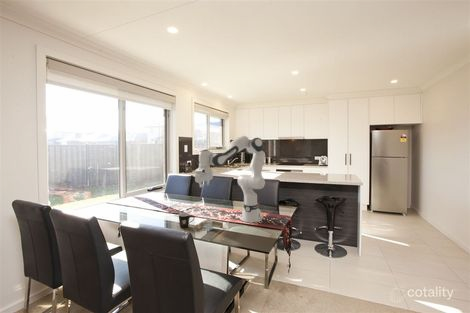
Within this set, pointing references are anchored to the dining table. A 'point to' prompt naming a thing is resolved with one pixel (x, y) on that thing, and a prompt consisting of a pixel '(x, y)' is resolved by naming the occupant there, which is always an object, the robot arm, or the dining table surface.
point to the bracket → (207, 225)
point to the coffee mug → (184, 220)
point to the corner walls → (215, 223)
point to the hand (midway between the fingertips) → (204, 186)
